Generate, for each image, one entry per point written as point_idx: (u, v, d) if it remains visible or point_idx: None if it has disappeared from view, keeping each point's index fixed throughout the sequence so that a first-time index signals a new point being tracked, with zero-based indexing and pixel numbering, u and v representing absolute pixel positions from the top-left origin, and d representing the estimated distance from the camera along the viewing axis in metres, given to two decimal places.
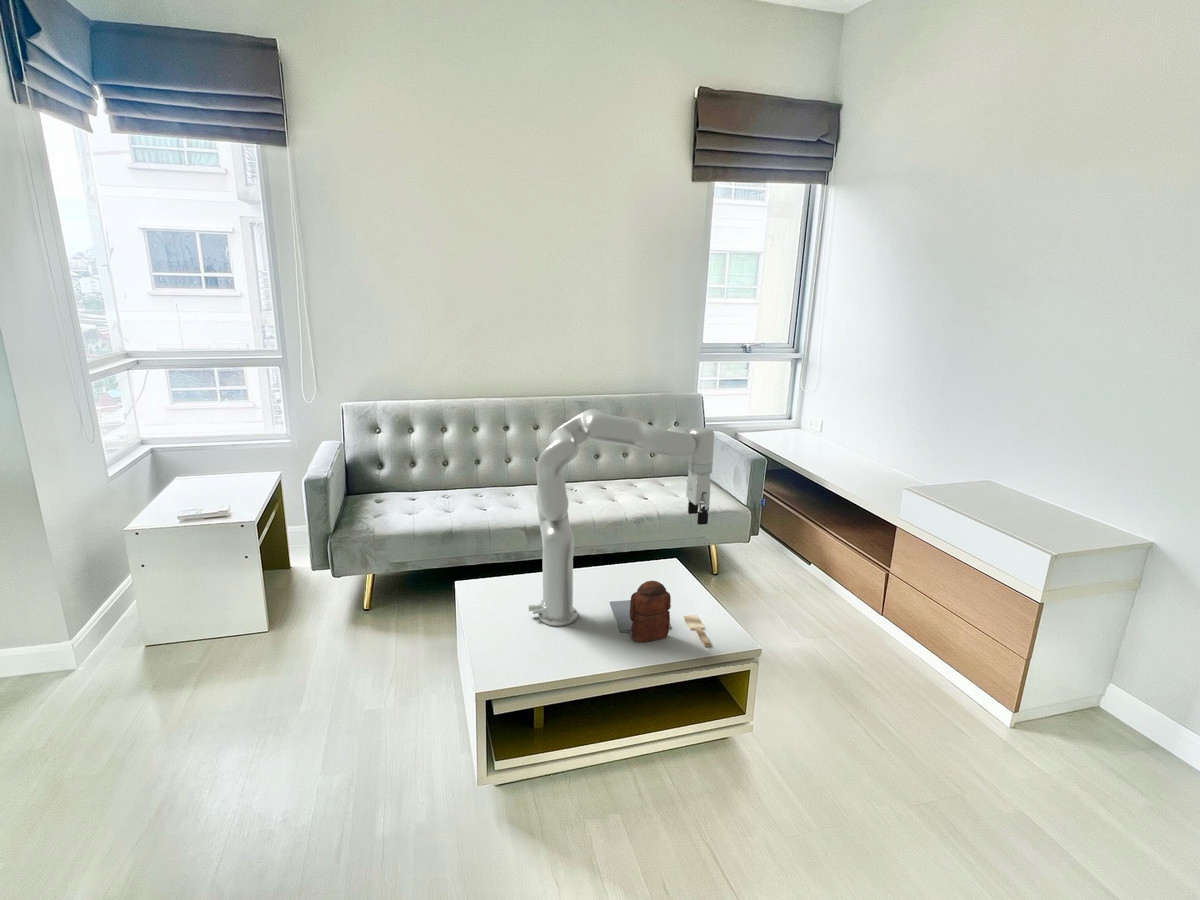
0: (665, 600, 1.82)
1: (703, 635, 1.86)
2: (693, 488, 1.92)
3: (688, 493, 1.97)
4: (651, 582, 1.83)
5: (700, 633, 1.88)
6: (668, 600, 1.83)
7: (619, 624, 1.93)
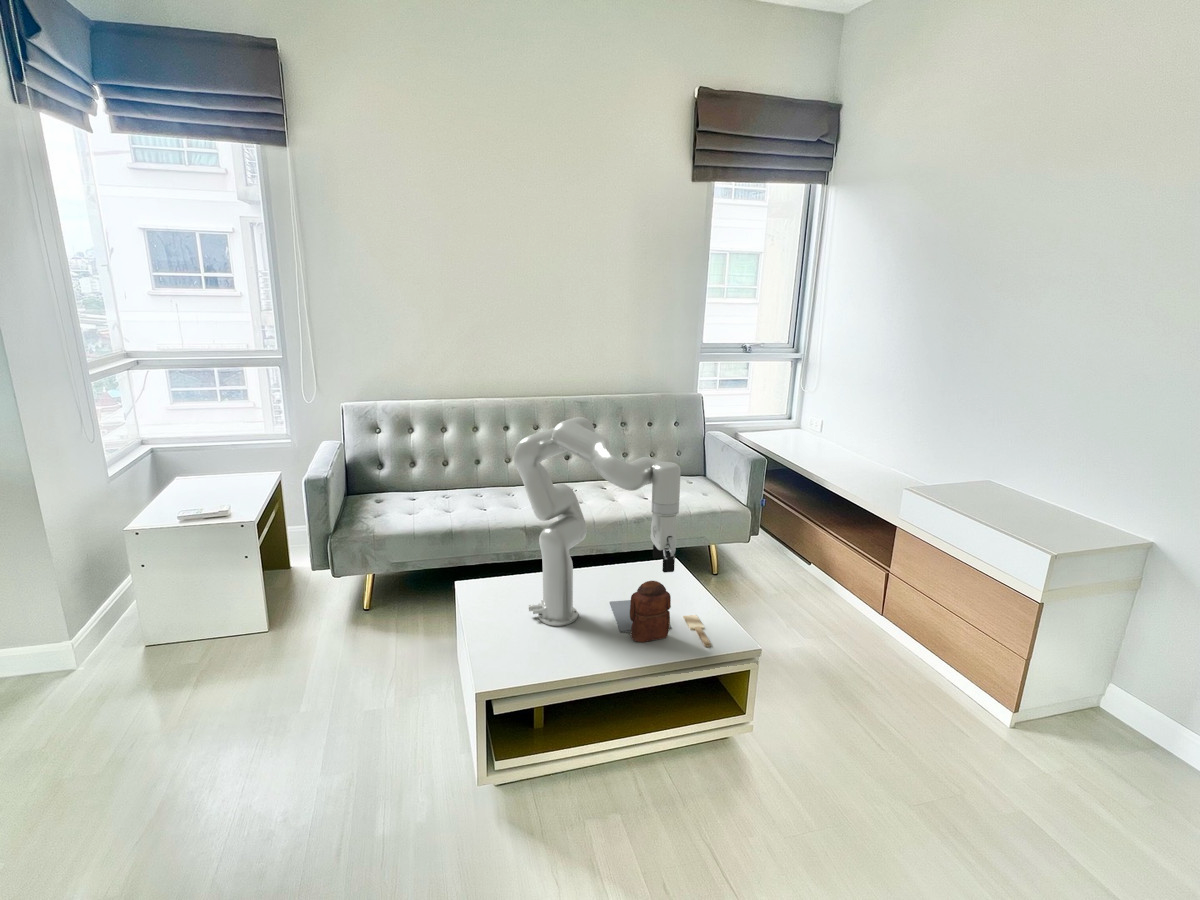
0: (665, 600, 1.82)
1: (703, 635, 1.86)
2: (657, 531, 1.69)
3: (652, 536, 1.74)
4: (651, 582, 1.83)
5: (700, 633, 1.88)
6: (668, 600, 1.83)
7: (619, 624, 1.93)
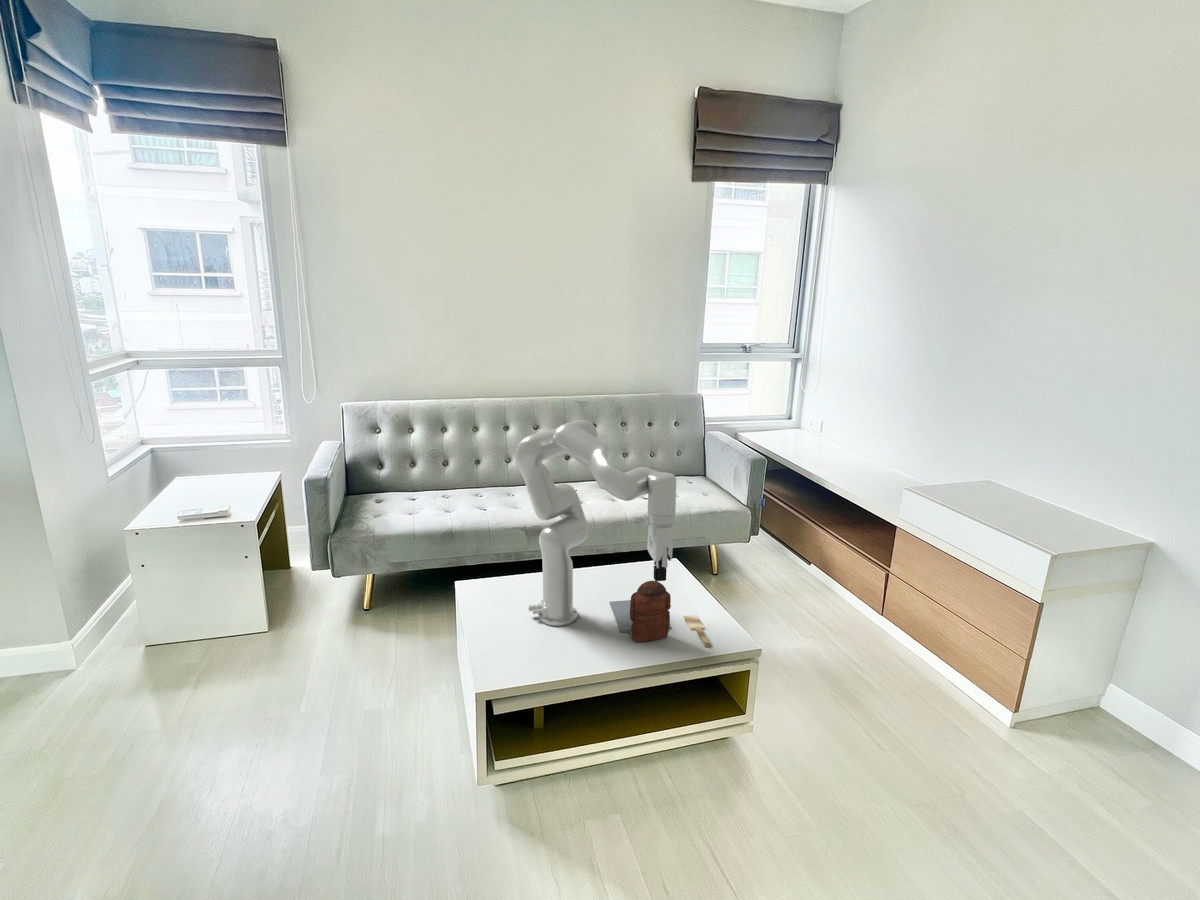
0: (665, 600, 1.82)
1: (703, 635, 1.86)
2: (653, 542, 1.67)
3: (649, 546, 1.72)
4: (651, 582, 1.83)
5: (700, 633, 1.88)
6: (668, 600, 1.83)
7: (619, 624, 1.93)
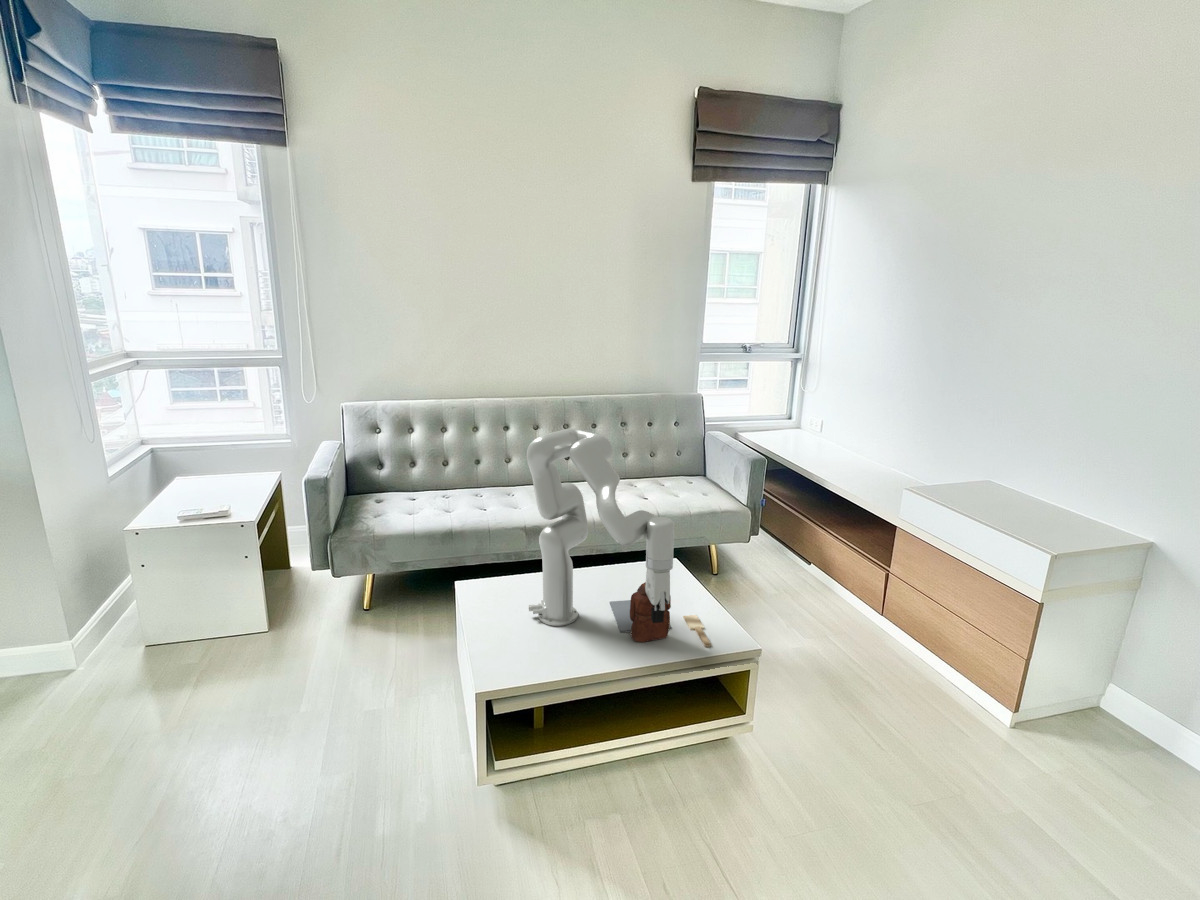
0: None
1: (703, 635, 1.86)
2: (651, 586, 1.70)
3: (647, 589, 1.75)
4: None
5: (700, 633, 1.88)
6: None
7: (619, 624, 1.93)
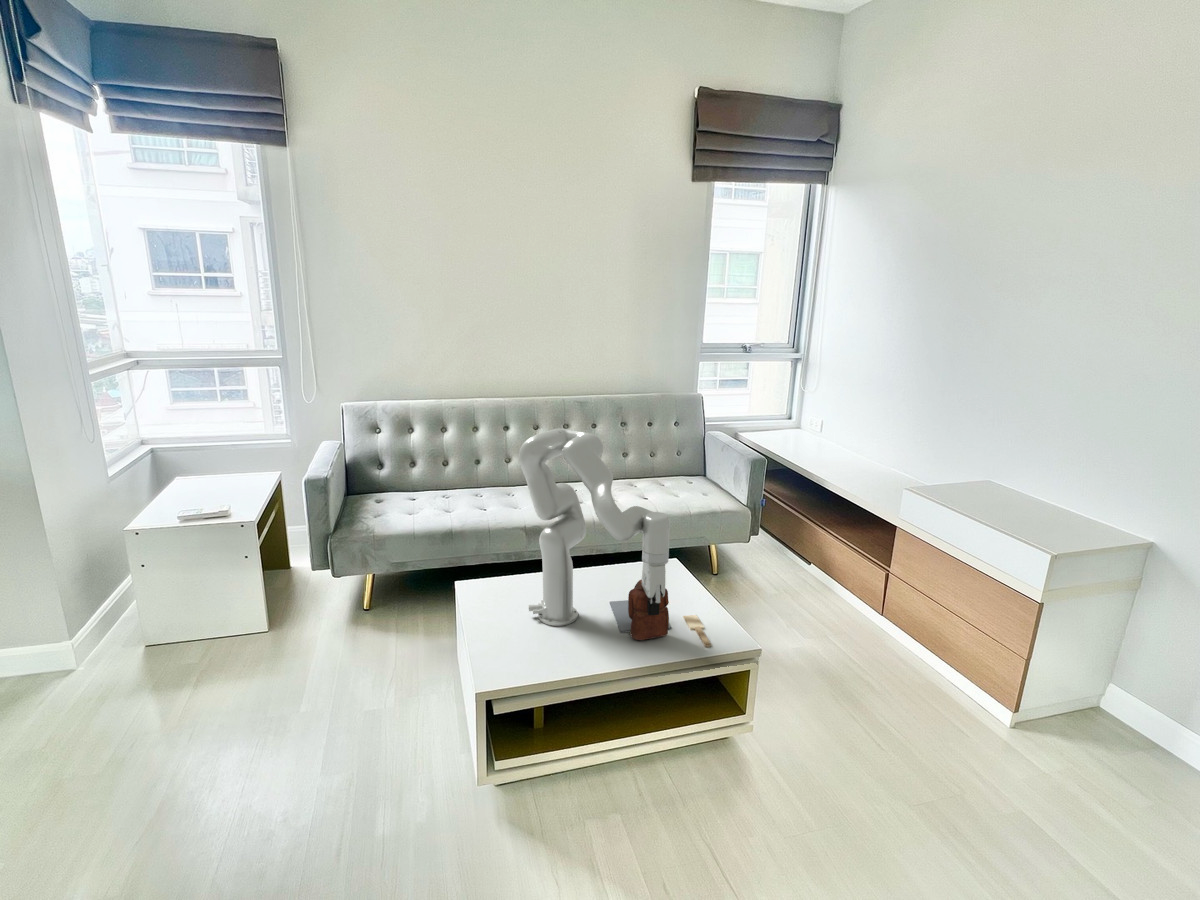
0: None
1: (703, 635, 1.86)
2: (647, 579, 1.75)
3: (643, 582, 1.80)
4: None
5: (700, 633, 1.88)
6: (665, 595, 1.84)
7: (619, 624, 1.93)
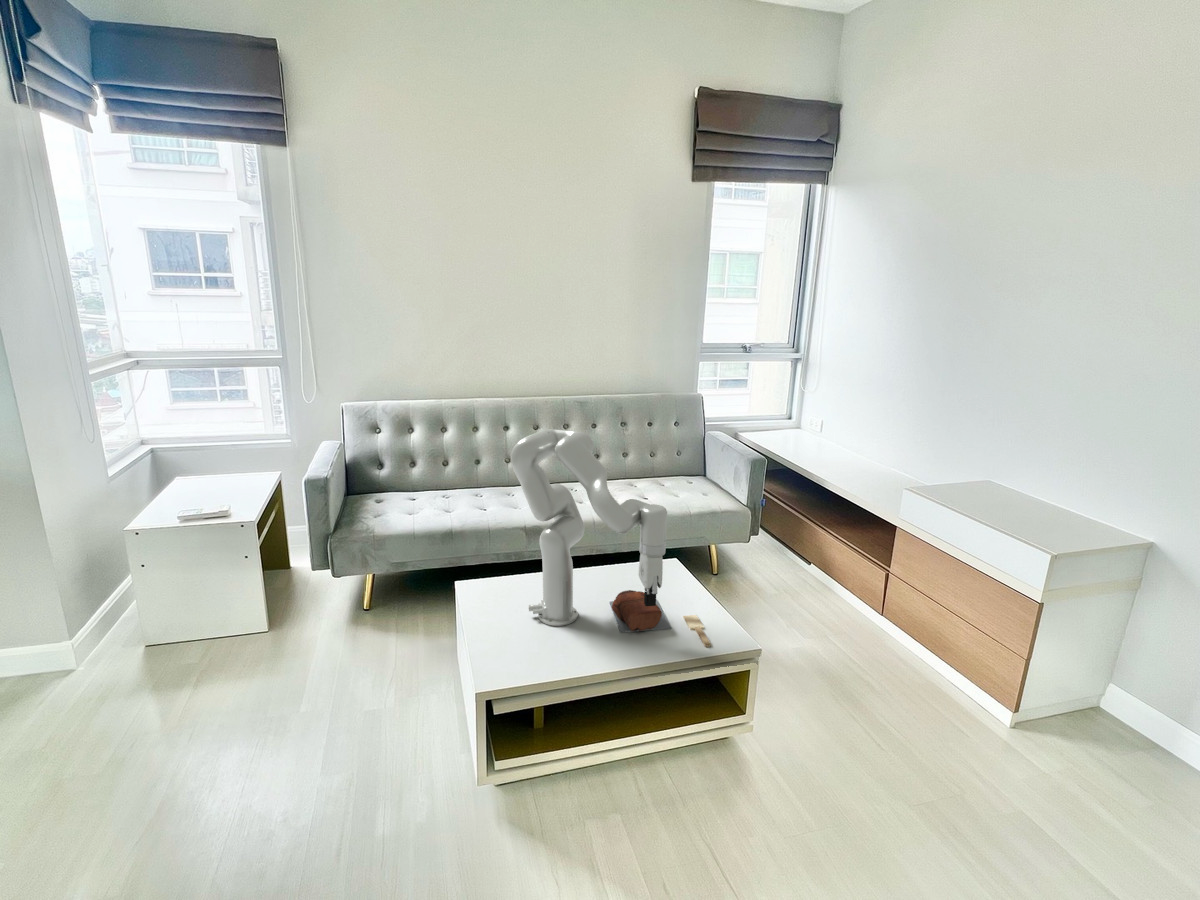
0: (638, 592, 2.01)
1: (703, 635, 1.86)
2: (644, 570, 1.78)
3: (640, 573, 1.83)
4: None
5: (700, 633, 1.88)
6: (642, 592, 2.01)
7: (619, 624, 1.93)
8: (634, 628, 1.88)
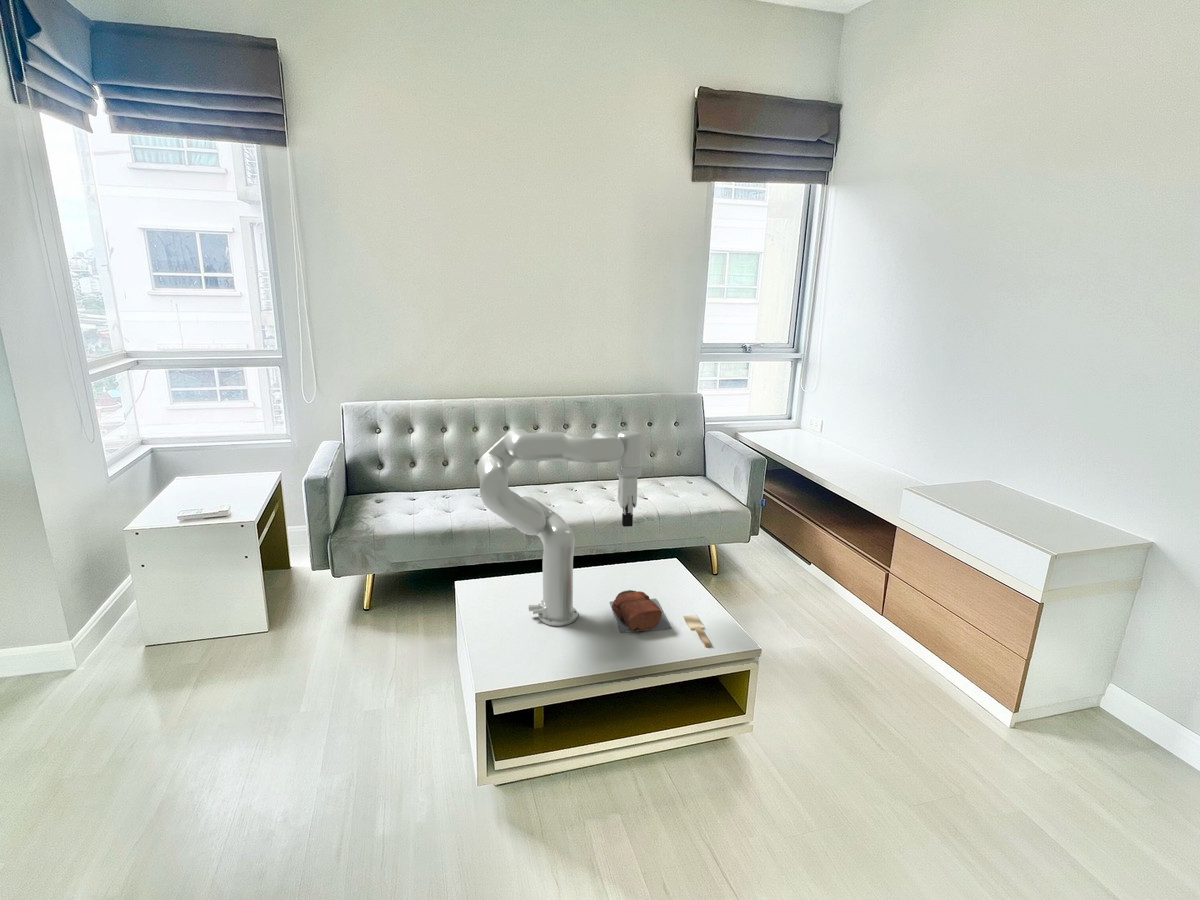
0: (638, 592, 2.01)
1: (703, 635, 1.86)
2: (620, 491, 1.92)
3: (618, 496, 1.97)
4: None
5: (700, 633, 1.88)
6: (642, 592, 2.01)
7: (619, 624, 1.93)
8: (634, 628, 1.88)
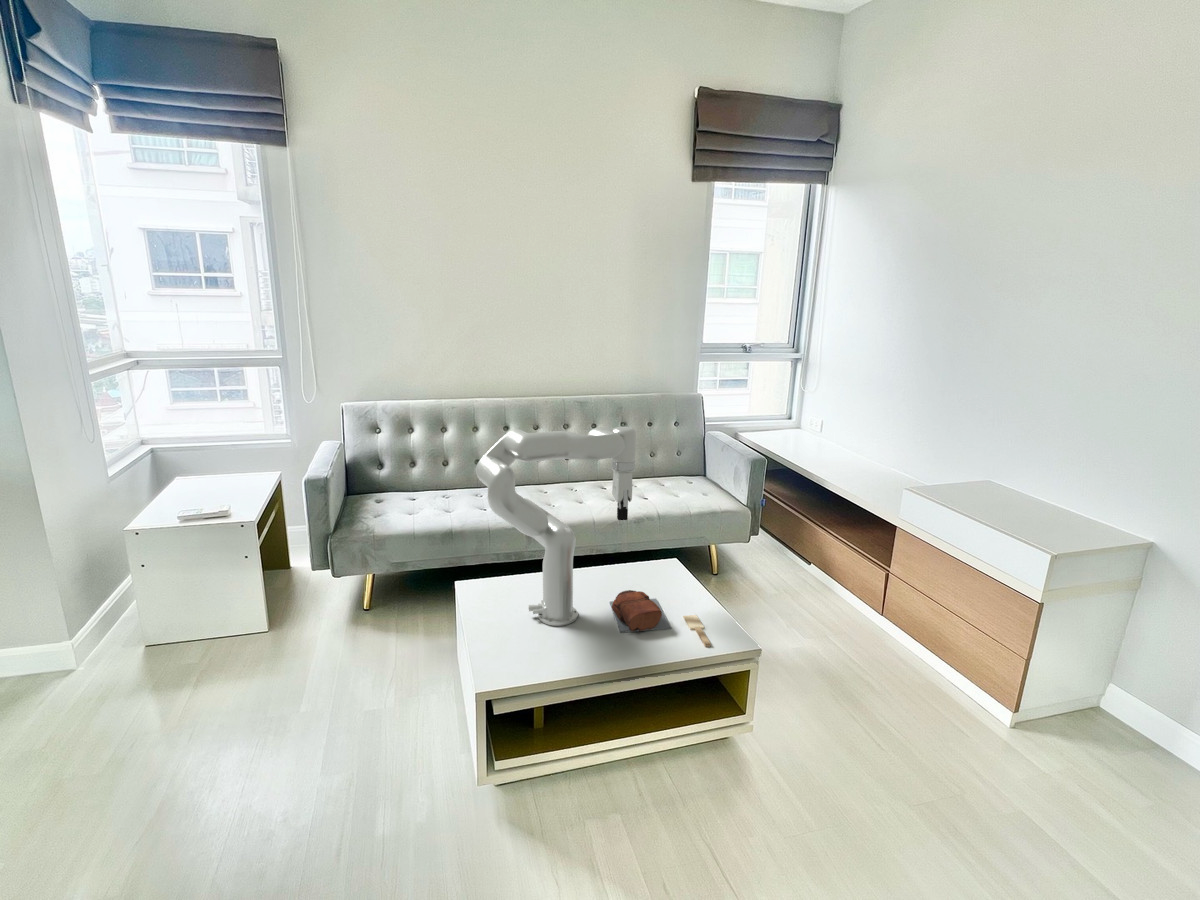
0: (638, 592, 2.01)
1: (703, 635, 1.86)
2: (616, 486, 1.97)
3: (613, 491, 2.02)
4: None
5: (700, 633, 1.88)
6: (642, 592, 2.01)
7: (619, 624, 1.93)
8: (634, 628, 1.88)
